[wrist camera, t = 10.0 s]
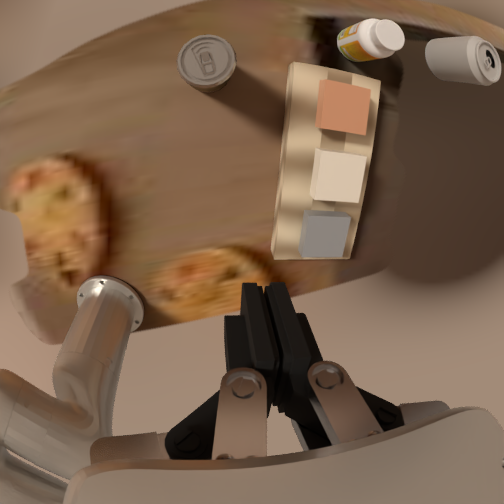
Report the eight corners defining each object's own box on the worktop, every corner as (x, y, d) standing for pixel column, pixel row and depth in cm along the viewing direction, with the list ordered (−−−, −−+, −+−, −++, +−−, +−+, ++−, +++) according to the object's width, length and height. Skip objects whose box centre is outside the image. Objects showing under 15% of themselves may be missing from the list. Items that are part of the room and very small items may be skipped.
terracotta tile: (352, 131, 34) (365, 135, 31) (310, 125, 34) (320, 128, 30) (357, 89, 31) (371, 89, 28) (314, 80, 31) (325, 79, 27)
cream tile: (346, 193, 38) (358, 202, 34) (305, 190, 37) (314, 199, 33) (353, 150, 35) (366, 156, 31) (311, 145, 34) (321, 150, 31)
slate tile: (332, 244, 43) (342, 257, 39) (295, 244, 42) (301, 257, 39) (340, 207, 40) (350, 217, 37) (300, 205, 39) (308, 215, 36)
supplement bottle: (372, 63, 31) (412, 58, 23) (338, 61, 31) (374, 53, 23) (367, 30, 29) (406, 18, 20) (333, 27, 29) (366, 10, 20)
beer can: (235, 86, 32) (244, 78, 22) (193, 98, 32) (183, 95, 22) (224, 49, 29) (229, 26, 19) (183, 61, 29) (168, 42, 19)
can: (458, 71, 32) (509, 77, 21) (435, 87, 33) (488, 94, 23) (439, 34, 28) (491, 30, 18) (414, 47, 30) (468, 43, 20)
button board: (342, 249, 46) (349, 258, 43) (270, 249, 44) (274, 259, 42) (370, 81, 33) (380, 80, 30) (288, 64, 31) (294, 61, 29)
